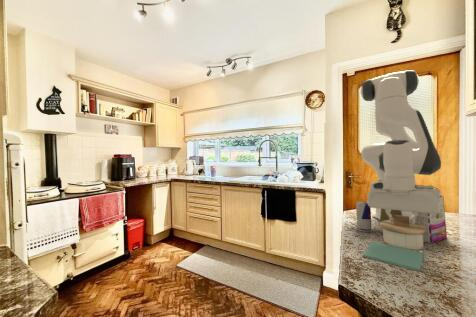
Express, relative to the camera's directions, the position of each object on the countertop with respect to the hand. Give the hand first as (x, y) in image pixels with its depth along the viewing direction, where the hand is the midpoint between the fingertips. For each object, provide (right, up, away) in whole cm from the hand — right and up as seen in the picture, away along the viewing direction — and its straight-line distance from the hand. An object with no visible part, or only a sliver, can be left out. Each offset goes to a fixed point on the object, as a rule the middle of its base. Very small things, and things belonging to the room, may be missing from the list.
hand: (401, 222), depth 74 cm
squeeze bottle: (+6, -8, +12) cm, 16 cm away
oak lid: (0, -2, 0) cm, 2 cm away
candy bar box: (+14, -7, +3) cm, 16 cm away
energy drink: (-4, -8, +15) cm, 18 cm away
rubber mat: (-10, -8, -9) cm, 15 cm away
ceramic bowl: (0, -8, 0) cm, 8 cm away
